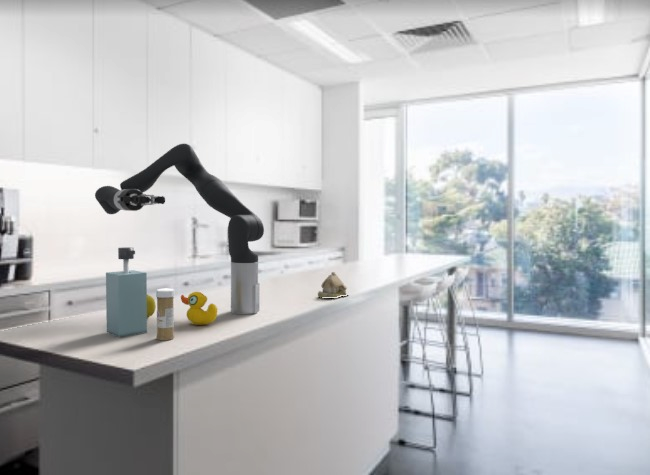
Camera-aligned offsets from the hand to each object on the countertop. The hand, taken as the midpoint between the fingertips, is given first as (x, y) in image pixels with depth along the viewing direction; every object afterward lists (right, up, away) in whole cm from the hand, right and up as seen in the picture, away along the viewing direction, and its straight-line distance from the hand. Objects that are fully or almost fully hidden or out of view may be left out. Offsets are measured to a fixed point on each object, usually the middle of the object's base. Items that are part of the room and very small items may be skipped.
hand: (151, 199), depth 161 cm
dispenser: (0, -39, -21) cm, 44 cm away
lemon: (0, -39, -4) cm, 39 cm away
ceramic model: (+60, -37, +42) cm, 82 cm away
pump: (+1, -30, -22) cm, 37 cm away
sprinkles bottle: (+13, -40, -27) cm, 50 cm away
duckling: (+18, -39, -10) cm, 44 cm away
